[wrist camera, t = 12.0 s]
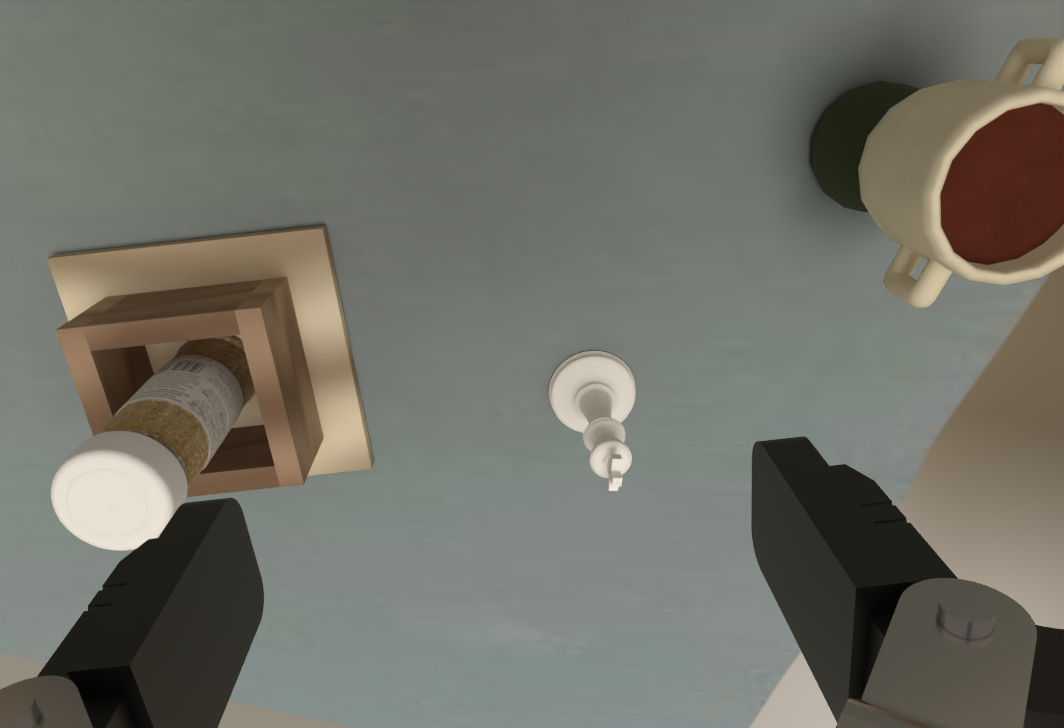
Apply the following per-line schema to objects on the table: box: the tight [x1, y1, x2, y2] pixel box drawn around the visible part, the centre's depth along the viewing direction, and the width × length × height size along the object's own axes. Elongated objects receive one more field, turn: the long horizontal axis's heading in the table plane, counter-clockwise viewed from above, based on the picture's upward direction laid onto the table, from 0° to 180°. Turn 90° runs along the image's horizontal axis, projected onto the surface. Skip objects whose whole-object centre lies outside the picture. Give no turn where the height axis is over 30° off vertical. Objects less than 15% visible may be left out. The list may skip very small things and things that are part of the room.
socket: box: [47, 225, 374, 497], centre depth 40 cm, size 14×14×6 cm
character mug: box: [812, 38, 1064, 308], centre depth 34 cm, size 11×7×13 cm, turn 159°
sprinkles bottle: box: [51, 336, 256, 550], centre depth 36 cm, size 5×5×14 cm
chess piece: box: [549, 351, 636, 491], centre depth 40 cm, size 5×5×10 cm
